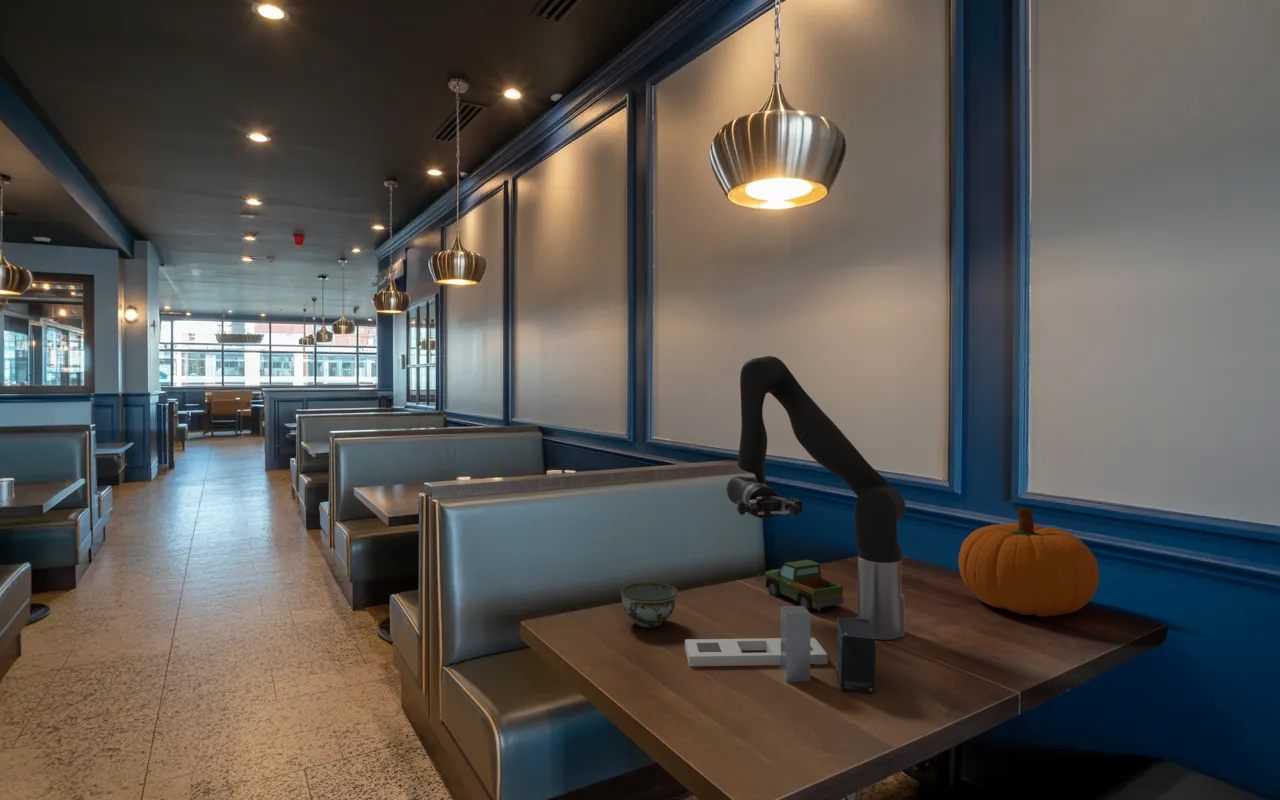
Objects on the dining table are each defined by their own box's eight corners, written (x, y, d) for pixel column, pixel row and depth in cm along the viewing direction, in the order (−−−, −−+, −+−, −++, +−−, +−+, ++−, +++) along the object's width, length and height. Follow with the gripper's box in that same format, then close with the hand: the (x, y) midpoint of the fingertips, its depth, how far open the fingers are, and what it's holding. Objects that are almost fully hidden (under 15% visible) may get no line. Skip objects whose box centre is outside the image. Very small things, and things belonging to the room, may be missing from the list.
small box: (877, 694, 122) (877, 637, 122) (840, 691, 124) (840, 635, 124) (869, 670, 133) (869, 618, 133) (835, 667, 134) (835, 615, 134)
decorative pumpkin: (1120, 611, 167) (1121, 511, 167) (1062, 637, 150) (1064, 525, 150) (995, 581, 193) (996, 494, 192) (934, 600, 176) (935, 505, 175)
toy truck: (794, 587, 188) (794, 552, 188) (848, 610, 169) (848, 571, 168) (760, 593, 183) (760, 556, 183) (812, 617, 164) (812, 576, 163)
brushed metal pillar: (803, 671, 132) (803, 605, 132) (810, 681, 128) (810, 613, 127) (780, 671, 132) (780, 606, 132) (786, 682, 128) (786, 614, 127)
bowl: (613, 617, 163) (613, 584, 163) (665, 611, 168) (665, 579, 167) (630, 637, 150) (630, 601, 150) (686, 630, 155) (686, 595, 155)
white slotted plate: (814, 646, 145) (814, 637, 145) (827, 664, 136) (827, 654, 136) (684, 648, 144) (684, 639, 144) (689, 666, 135) (689, 656, 135)
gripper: (730, 485, 161) (743, 495, 145) (789, 483, 162) (808, 493, 145) (731, 516, 161) (744, 529, 145) (790, 514, 162) (809, 528, 145)
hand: (776, 511), depth 145 cm, fingers open, 8 cm apart
